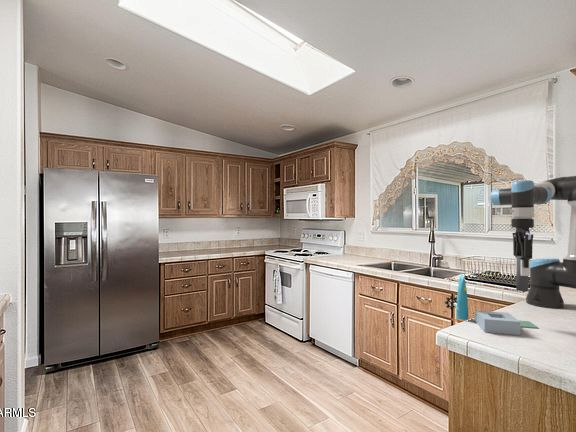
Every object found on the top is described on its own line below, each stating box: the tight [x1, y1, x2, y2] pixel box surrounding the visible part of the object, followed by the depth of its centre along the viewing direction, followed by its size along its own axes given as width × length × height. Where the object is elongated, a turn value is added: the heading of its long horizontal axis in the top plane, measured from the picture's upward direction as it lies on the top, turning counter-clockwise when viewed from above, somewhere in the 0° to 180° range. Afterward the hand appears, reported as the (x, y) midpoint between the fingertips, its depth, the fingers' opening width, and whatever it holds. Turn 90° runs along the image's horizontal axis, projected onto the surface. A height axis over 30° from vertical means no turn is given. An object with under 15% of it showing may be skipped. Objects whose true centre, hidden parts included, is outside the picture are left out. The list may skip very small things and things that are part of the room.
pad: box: [519, 320, 539, 329], centre depth 134 cm, size 8×8×1 cm
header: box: [474, 309, 521, 336], centre depth 129 cm, size 12×12×5 cm
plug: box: [515, 256, 529, 293], centre depth 134 cm, size 4×4×14 cm
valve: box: [444, 295, 457, 310], centre depth 150 cm, size 7×7×12 cm
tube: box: [455, 273, 470, 321], centre depth 141 cm, size 7×5×19 cm, turn 168°
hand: (522, 274), depth 134 cm, fingers closed on plug, 4 cm apart
